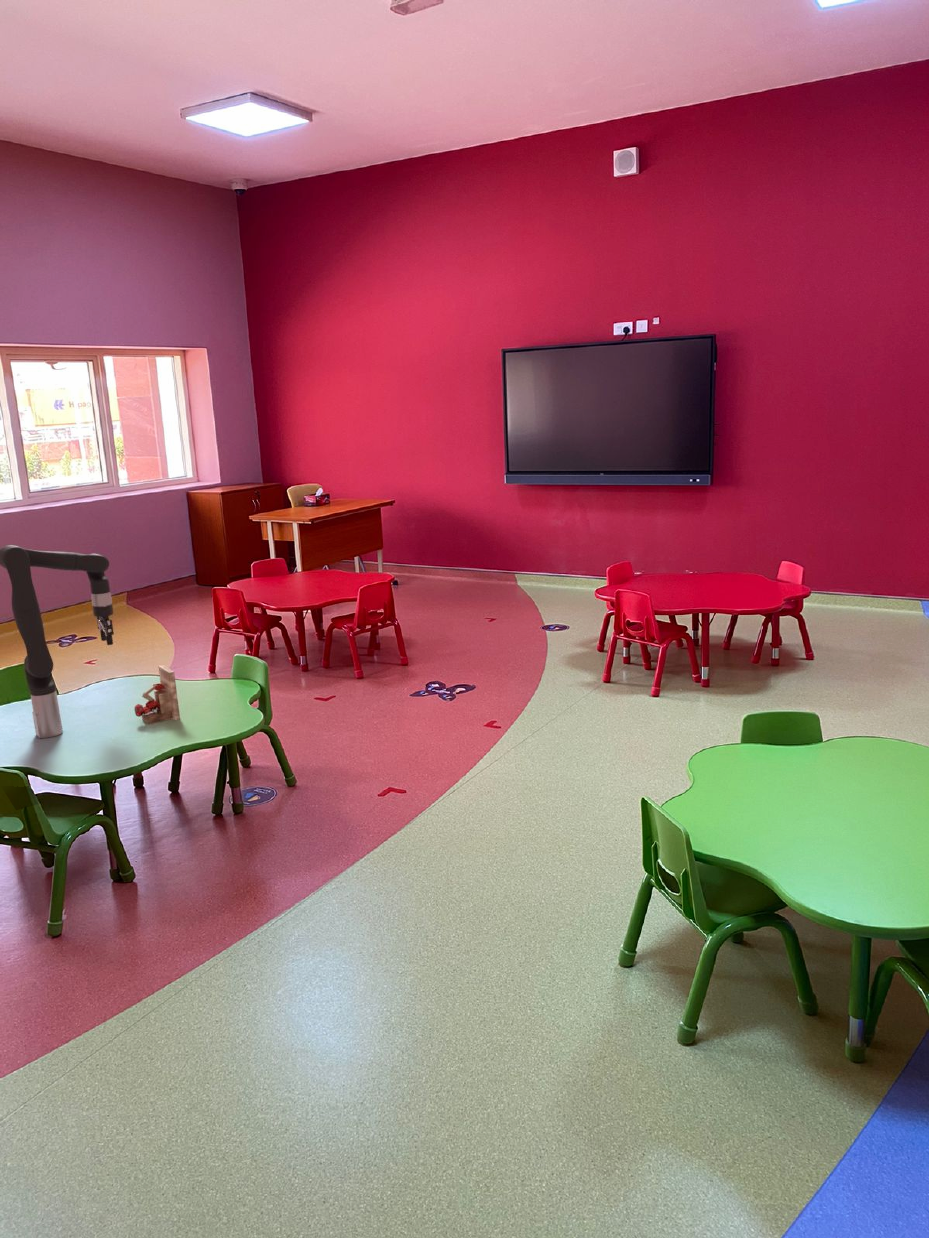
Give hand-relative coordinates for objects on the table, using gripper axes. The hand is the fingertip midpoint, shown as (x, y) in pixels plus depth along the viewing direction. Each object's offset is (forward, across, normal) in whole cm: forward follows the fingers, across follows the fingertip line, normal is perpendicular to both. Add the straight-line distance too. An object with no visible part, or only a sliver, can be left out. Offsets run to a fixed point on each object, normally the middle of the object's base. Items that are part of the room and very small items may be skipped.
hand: (107, 642), depth 371 cm
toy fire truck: (+27, +17, +10) cm, 33 cm away
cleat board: (+31, +17, +13) cm, 37 cm away
